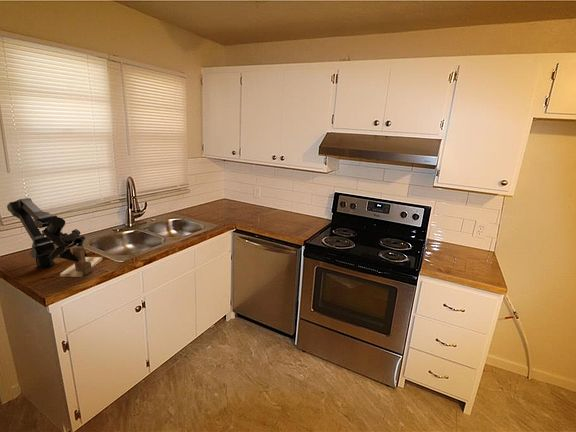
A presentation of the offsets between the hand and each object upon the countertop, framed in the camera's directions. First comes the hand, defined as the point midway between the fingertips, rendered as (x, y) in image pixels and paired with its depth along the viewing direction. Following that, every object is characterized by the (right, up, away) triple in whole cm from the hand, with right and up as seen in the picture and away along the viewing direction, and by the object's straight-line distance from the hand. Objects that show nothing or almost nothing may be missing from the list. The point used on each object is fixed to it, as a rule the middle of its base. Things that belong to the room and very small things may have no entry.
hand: (82, 258), depth 155 cm
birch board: (-5, -6, +8) cm, 11 cm away
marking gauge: (-2, -7, +2) cm, 8 cm away
